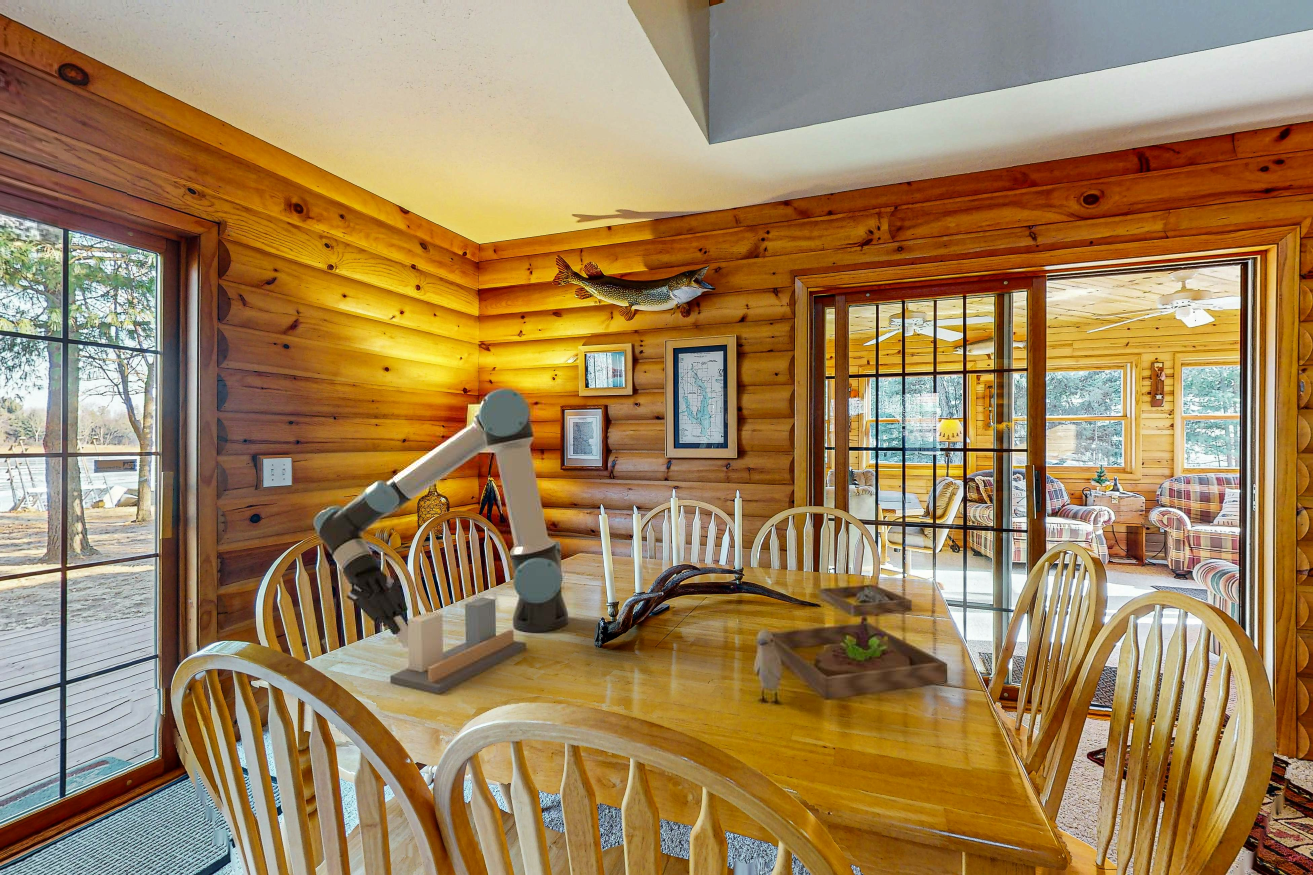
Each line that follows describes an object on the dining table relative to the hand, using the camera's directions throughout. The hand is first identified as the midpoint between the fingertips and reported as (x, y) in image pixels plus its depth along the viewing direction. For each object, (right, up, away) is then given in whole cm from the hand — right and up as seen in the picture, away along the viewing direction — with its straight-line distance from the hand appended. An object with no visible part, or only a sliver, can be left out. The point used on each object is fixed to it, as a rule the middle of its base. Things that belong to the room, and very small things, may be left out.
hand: (409, 642), depth 134 cm
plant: (+102, -5, -3) cm, 102 cm away
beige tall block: (+5, -4, -2) cm, 7 cm away
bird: (+78, -5, -19) cm, 80 cm away
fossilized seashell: (+121, -4, +44) cm, 129 cm away
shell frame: (+118, -4, +45) cm, 126 cm away
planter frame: (+99, -5, -1) cm, 99 cm away
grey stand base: (+11, -6, +2) cm, 13 cm away
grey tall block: (+14, -4, +9) cm, 17 cm away
